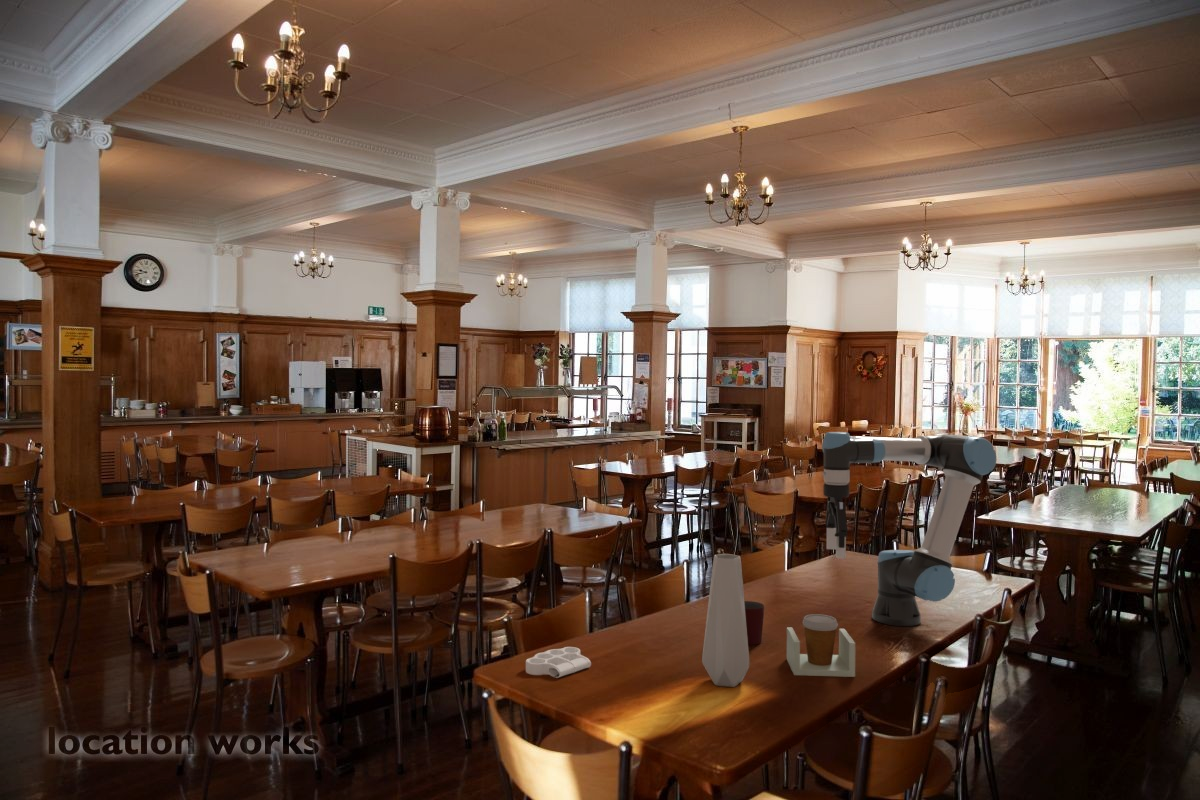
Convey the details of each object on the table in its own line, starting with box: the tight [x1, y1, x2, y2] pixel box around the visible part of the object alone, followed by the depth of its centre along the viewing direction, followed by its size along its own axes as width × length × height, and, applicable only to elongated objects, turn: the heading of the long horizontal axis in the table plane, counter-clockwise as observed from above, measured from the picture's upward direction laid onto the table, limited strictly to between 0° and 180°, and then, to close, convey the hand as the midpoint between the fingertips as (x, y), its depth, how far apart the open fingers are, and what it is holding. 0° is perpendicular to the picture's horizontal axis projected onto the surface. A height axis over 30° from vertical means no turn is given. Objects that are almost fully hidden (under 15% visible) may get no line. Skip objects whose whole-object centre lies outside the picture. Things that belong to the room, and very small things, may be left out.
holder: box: [786, 626, 856, 678], centre depth 224 cm, size 16×13×9 cm
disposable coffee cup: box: [802, 613, 839, 666], centre depth 224 cm, size 10×10×12 cm
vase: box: [701, 553, 750, 688], centre depth 213 cm, size 12×12×33 cm
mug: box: [744, 600, 765, 646], centre depth 246 cm, size 12×9×11 cm
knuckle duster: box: [525, 646, 592, 679], centre depth 224 cm, size 3×18×15 cm
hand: (835, 553), depth 247 cm, fingers open, 13 cm apart
